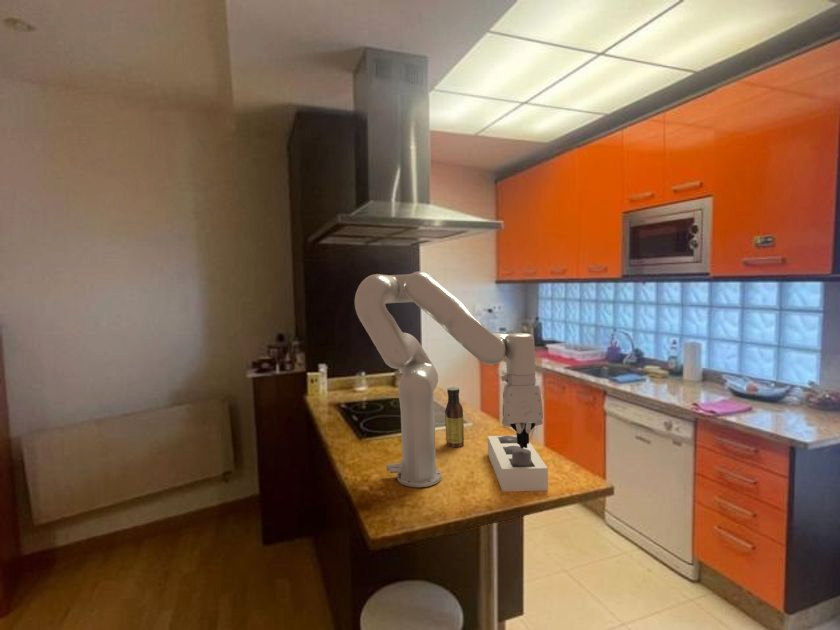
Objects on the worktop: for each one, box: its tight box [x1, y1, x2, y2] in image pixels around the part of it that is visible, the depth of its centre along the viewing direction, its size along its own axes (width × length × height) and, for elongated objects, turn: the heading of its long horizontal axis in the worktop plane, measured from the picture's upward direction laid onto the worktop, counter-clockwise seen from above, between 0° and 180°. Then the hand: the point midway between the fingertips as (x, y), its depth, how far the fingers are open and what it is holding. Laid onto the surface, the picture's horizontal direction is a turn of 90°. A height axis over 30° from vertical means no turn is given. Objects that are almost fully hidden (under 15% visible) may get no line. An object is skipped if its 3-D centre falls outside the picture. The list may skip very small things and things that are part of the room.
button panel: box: [487, 435, 549, 492], centre depth 127 cm, size 12×26×6 cm, turn 179°
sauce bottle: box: [444, 387, 465, 448], centre depth 149 cm, size 7×6×20 cm
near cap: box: [512, 448, 531, 467], centre depth 118 cm, size 5×5×6 cm
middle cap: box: [506, 446, 523, 455], centre depth 127 cm, size 5×5×6 cm
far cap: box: [501, 435, 517, 444], centre depth 136 cm, size 5×5×6 cm
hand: (523, 446), depth 118 cm, fingers closed
